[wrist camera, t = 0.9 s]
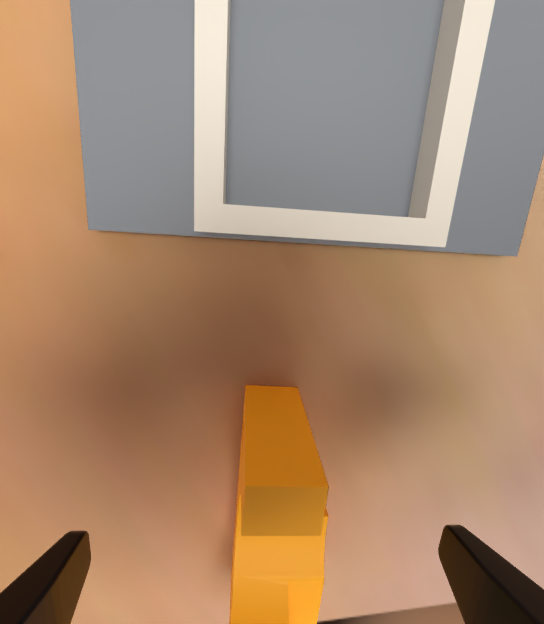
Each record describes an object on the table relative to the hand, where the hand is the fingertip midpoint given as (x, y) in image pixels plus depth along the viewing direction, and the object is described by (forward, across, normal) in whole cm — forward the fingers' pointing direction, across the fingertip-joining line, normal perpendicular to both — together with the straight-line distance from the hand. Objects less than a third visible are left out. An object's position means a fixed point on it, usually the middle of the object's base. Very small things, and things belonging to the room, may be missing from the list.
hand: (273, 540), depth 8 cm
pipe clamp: (+8, -1, +6) cm, 10 cm away
